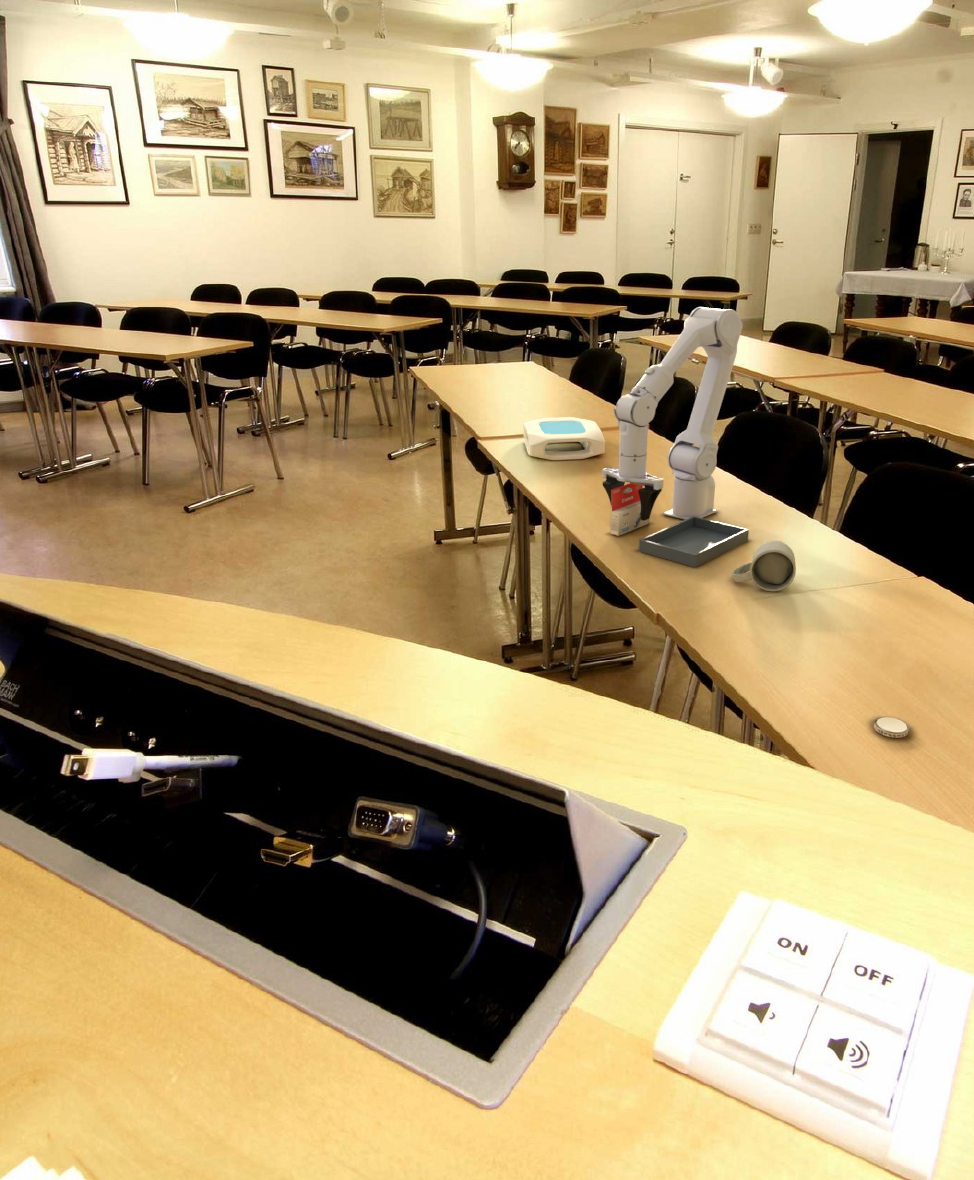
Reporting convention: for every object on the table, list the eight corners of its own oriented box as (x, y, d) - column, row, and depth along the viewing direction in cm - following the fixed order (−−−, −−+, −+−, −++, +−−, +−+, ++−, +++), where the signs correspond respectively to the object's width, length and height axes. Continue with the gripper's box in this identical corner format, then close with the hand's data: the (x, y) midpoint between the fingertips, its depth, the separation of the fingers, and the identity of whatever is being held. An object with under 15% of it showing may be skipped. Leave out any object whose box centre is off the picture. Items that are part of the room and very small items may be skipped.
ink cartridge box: (650, 523, 184) (651, 480, 180) (618, 536, 177) (619, 492, 173) (640, 521, 185) (642, 478, 181) (609, 534, 178) (610, 490, 174)
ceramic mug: (793, 576, 154) (796, 536, 151) (793, 593, 147) (797, 552, 144) (733, 572, 157) (735, 533, 154) (730, 589, 150) (733, 549, 147)
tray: (692, 527, 181) (693, 515, 180) (747, 540, 172) (749, 529, 171) (638, 551, 169) (639, 539, 168) (694, 567, 160) (695, 555, 159)
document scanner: (590, 435, 261) (590, 415, 258) (605, 458, 235) (605, 436, 233) (523, 438, 260) (522, 418, 258) (530, 461, 235) (530, 439, 232)
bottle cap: (874, 734, 106) (875, 730, 106) (873, 718, 110) (874, 714, 110) (909, 739, 105) (910, 735, 105) (907, 723, 108) (907, 719, 108)
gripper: (593, 452, 177) (592, 513, 182) (649, 463, 167) (647, 527, 172) (614, 445, 181) (613, 505, 186) (670, 456, 171) (667, 519, 177)
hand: (630, 515), depth 180 cm, fingers open, 7 cm apart
